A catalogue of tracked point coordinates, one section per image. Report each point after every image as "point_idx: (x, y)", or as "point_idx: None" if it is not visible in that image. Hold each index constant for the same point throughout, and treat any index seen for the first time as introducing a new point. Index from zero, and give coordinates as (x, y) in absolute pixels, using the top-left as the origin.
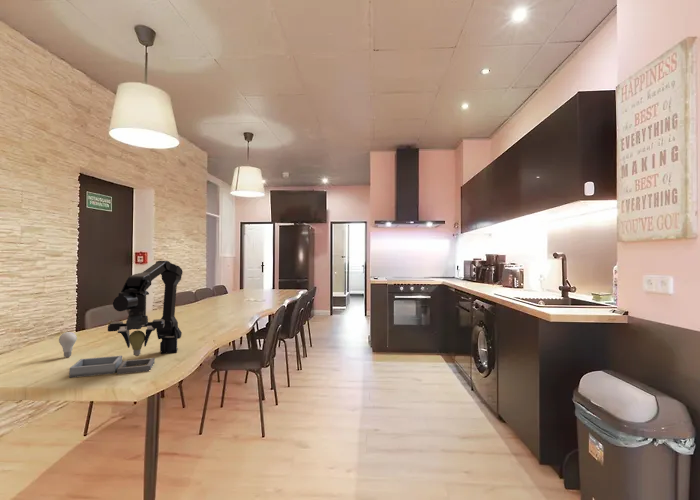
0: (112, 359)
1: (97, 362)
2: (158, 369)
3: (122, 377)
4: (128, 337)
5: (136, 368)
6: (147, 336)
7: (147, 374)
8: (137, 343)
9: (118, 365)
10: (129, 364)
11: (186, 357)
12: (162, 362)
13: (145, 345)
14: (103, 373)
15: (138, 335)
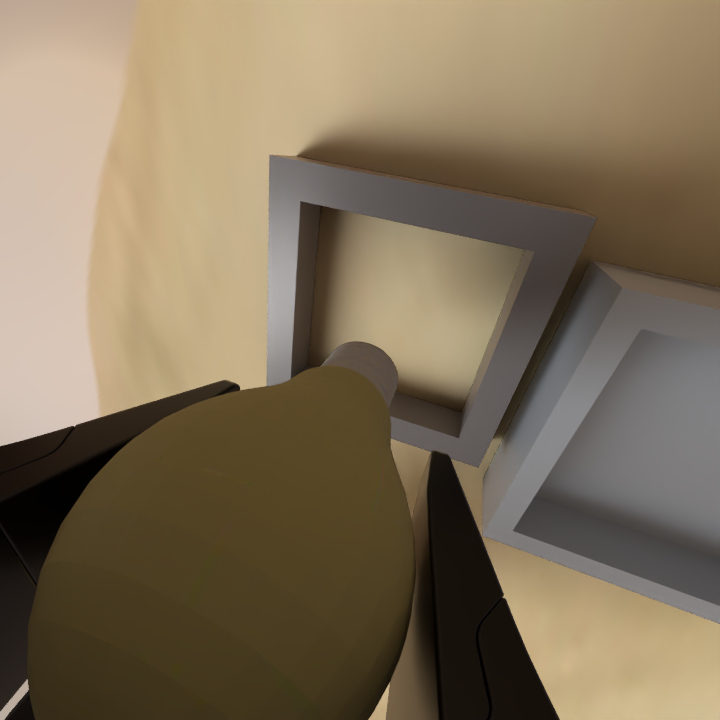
0: (559, 529)
1: (677, 558)
2: (239, 172)
3: (559, 29)
4: (415, 654)
5: (398, 179)
6: (27, 452)
7: (312, 24)
8: (278, 387)
9: (532, 401)
10: (440, 412)
11: (128, 373)
12: (239, 355)
13: (215, 383)
14: (707, 287)
15: (118, 528)
